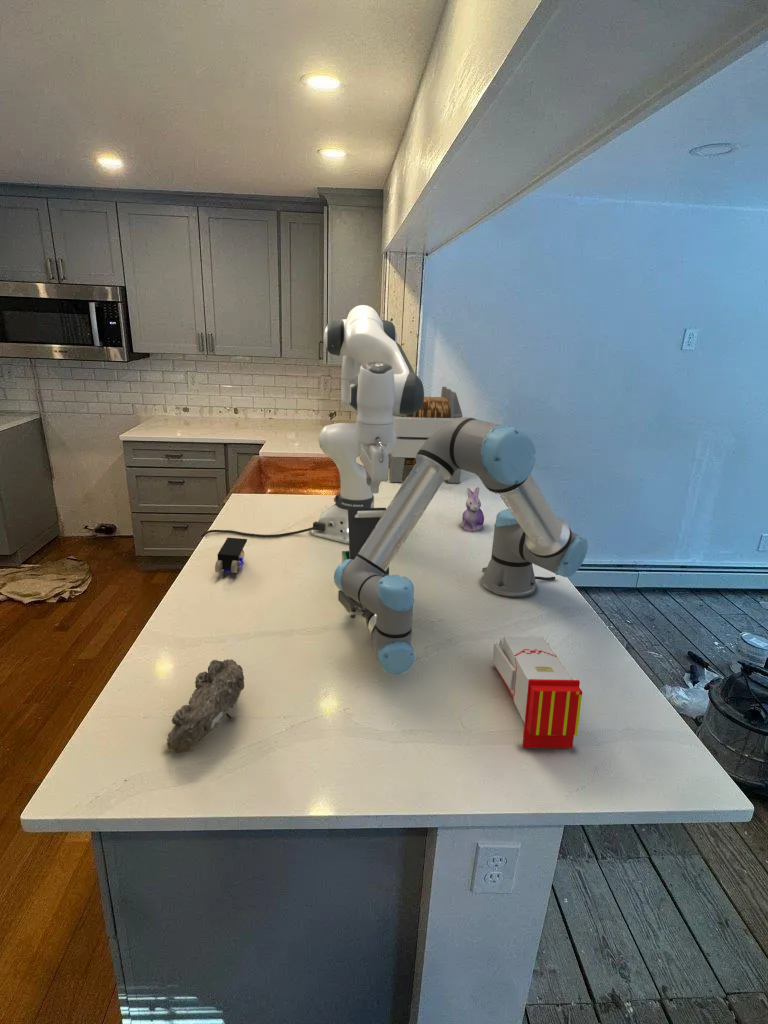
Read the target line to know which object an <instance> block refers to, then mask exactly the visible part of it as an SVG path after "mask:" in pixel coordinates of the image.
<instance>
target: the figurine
mask: <svg viewBox="0 0 768 1024" xmlns="http://www.w3.org/2000/svg"><path fill="white" fill-rule="evenodd" d="M466 491H467V493H466V494H467V499H466V501H465V507H466V509H465V510H464V511H463V513H462V516H461V517H462V518H461V519H462V520H461V527H462V528H463V530H464V531H469V532H475V531H480V530H481V529H482V528H484V523H485V515H484V512H483V510H482V509H481V507H482V502H481V499H480V497H479V494H480V488H479V487H478V486H477V487H476V488H475V489H474V490H473V491H472V490H471V488H469V487H468V488H467V489H466Z"/></svg>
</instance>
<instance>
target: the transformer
mask: <svg viewBox="0 0 768 1024" xmlns="http://www.w3.org/2000/svg"><path fill="white" fill-rule="evenodd" d="M440 393H441V394H440V396H424V402H423V405H422V407H421V408H420V409H419V410H418V411H417V412H415V413H414V414H413V415H402V414H392V416H393V429H394V431H395V433H396V437H397V441H396V446H395V448H394V449H393V451H392V452H391V453H389V454H388V455H389V474H388V479H389V480H390V482H391V483H402V482H403V475H404V469H405V466H406V467H407V466H411V467H412V466H413V467H414V466H415V464H416V459H415V456H416V455H417V453H418V451H419V450H420V448H421V447H422V446H423V444H424V443H425V442H426V440H427V439H428V438H429V437H430V436H431V435H432V434H433V433H434V432H435V431H436V430H438V429H439V428H440V427H442V426H443V425H445V424H446V423H448V422H450V421H452V420H454V419H457V418H463V411H462V408H461V405H460V402H459V398H458V395H457V392H455V391H453V390H452V389H451V388H447V386H442V387H441V392H440ZM461 472H462V469H458V470H456V471H455V472H454V474H453V475H452V477H451V478H450V479H448V480H445V481H446V482H447V483H449V484H455V483H456V484H459V483H461Z"/></svg>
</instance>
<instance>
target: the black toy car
mask: <svg viewBox="0 0 768 1024" xmlns="http://www.w3.org/2000/svg"><path fill="white" fill-rule="evenodd" d="M247 542H248V538H240V537H226V539H225V541H224V543H223V544H222V546H221V547H220V549H219V551H218V552H217V560H216V562H215V564H214V572H215V573H221V577H222V578H224V577H225V576H226V574H227V573H230V574H231V573H232V574H231V578H234V577H235V575H236V573H237V572H239V571H240V567H242V566H243V565H244V564H245V562H244V558H245V551H244V547H245V546H246V544H247Z"/></svg>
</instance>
